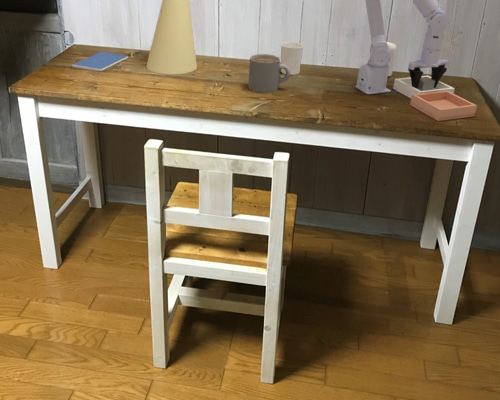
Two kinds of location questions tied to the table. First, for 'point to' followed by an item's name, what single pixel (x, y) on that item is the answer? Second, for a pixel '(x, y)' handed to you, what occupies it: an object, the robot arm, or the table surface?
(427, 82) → the gray cube
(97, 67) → the blue notebook
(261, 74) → the coffee mug
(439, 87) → the tub
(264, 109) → the table surface
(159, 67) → the cone light
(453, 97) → the bin
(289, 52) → the white cup
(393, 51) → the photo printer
